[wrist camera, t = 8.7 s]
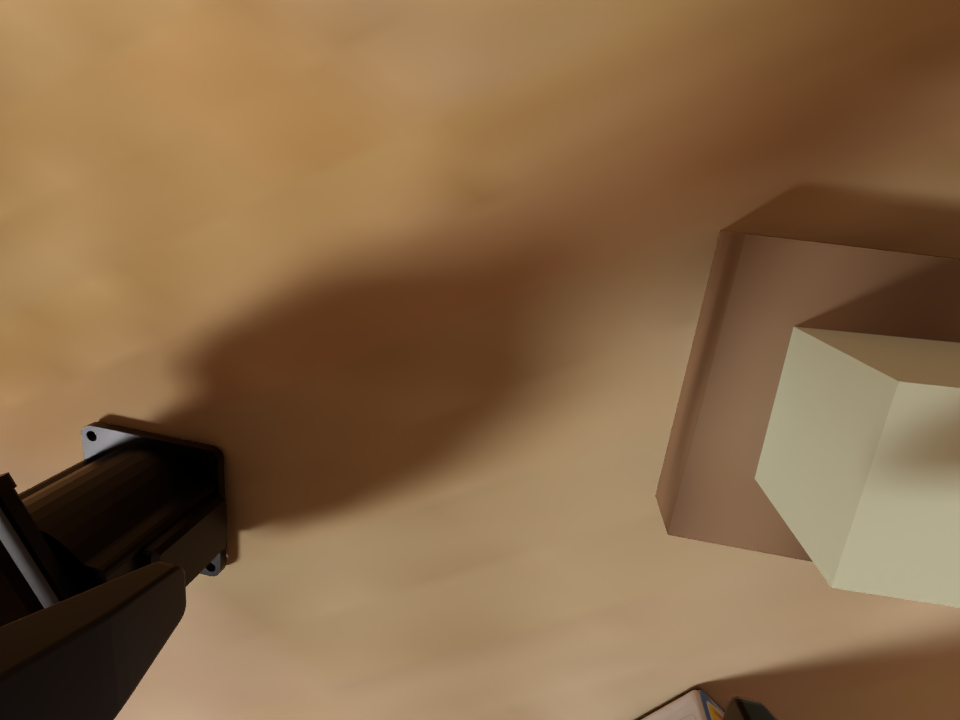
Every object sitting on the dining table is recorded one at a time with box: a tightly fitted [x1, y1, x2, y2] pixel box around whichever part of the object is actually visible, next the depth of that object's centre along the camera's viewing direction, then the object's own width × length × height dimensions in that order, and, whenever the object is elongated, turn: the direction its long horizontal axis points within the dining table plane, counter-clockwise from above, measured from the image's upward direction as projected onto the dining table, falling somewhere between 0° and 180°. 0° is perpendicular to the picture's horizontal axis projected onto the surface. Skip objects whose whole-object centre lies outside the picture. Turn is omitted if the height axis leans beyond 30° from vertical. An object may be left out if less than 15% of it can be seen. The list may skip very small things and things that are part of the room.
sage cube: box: [755, 327, 960, 608], centre depth 13 cm, size 5×5×5 cm
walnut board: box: [656, 230, 960, 562], centre depth 17 cm, size 10×10×3 cm
